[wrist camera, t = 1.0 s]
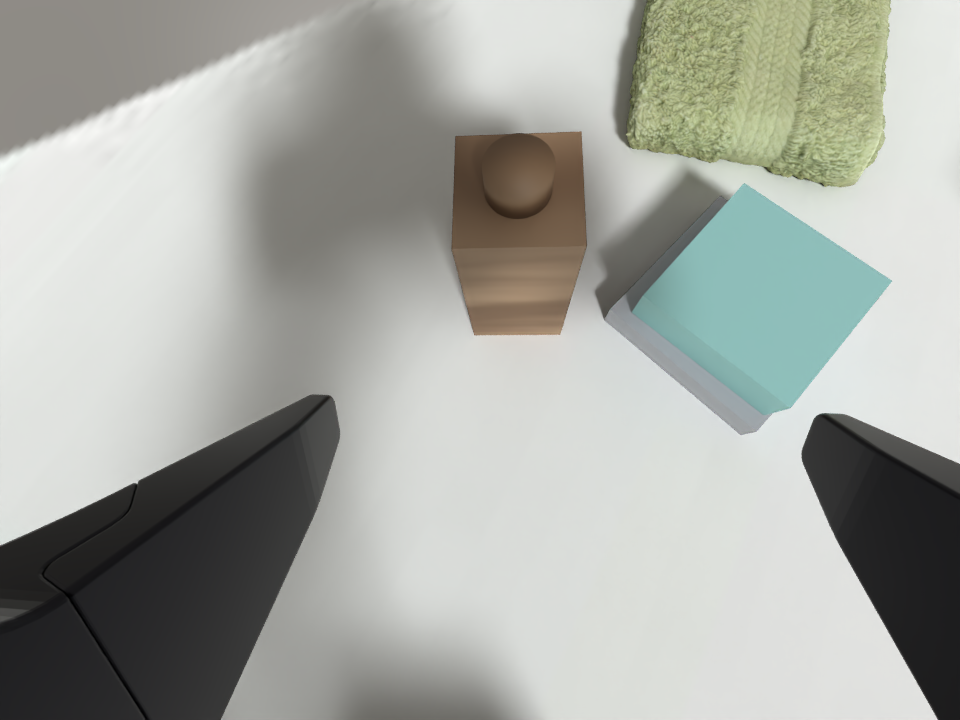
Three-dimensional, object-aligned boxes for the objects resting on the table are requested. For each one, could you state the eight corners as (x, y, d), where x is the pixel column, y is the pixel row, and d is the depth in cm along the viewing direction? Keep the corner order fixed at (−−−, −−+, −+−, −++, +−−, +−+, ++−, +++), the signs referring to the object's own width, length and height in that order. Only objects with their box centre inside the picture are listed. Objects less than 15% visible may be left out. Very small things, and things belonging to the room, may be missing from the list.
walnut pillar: (560, 334, 23) (593, 225, 13) (474, 335, 23) (446, 228, 14) (557, 256, 24) (586, 103, 15) (475, 257, 24) (450, 108, 15)
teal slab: (763, 415, 20) (790, 408, 18) (631, 312, 22) (643, 295, 20) (857, 299, 21) (892, 281, 19) (724, 208, 23) (744, 183, 21)
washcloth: (880, -47, 28) (925, -113, 25) (856, 206, 24) (906, 165, 21) (658, -73, 30) (675, -137, 27) (601, 159, 26) (612, 115, 23)
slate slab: (735, 436, 22) (756, 431, 20) (602, 323, 24) (609, 309, 22) (839, 317, 23) (868, 301, 21) (704, 218, 25) (720, 195, 23)
